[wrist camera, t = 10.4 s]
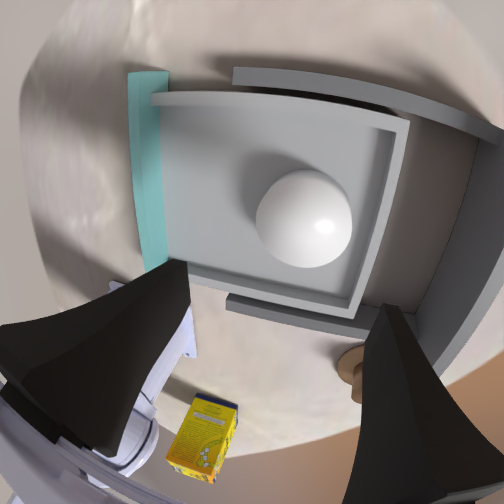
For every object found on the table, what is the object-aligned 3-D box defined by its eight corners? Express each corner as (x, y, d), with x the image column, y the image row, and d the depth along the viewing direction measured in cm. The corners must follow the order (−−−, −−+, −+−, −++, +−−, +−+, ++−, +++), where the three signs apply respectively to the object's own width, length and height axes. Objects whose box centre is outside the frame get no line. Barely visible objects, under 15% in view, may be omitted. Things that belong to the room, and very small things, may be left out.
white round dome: (261, 241, 19) (253, 257, 17) (267, 163, 16) (258, 172, 14) (341, 257, 18) (340, 275, 16) (358, 178, 15) (361, 190, 13)
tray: (169, 273, 24) (150, 296, 21) (158, 72, 15) (127, 73, 13) (348, 313, 21) (346, 345, 19) (405, 94, 12) (420, 95, 10)
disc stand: (330, 377, 26) (326, 406, 23) (348, 339, 23) (346, 372, 20) (385, 385, 25) (385, 414, 22) (410, 349, 22) (414, 381, 19)
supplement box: (239, 421, 37) (214, 485, 28) (200, 410, 38) (172, 470, 29) (239, 404, 34) (211, 477, 25) (196, 391, 35) (163, 459, 26)
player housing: (236, 288, 23) (208, 343, 18) (248, 69, 14) (204, 62, 9) (422, 325, 20) (432, 385, 15) (496, 129, 11) (551, 153, 6)
